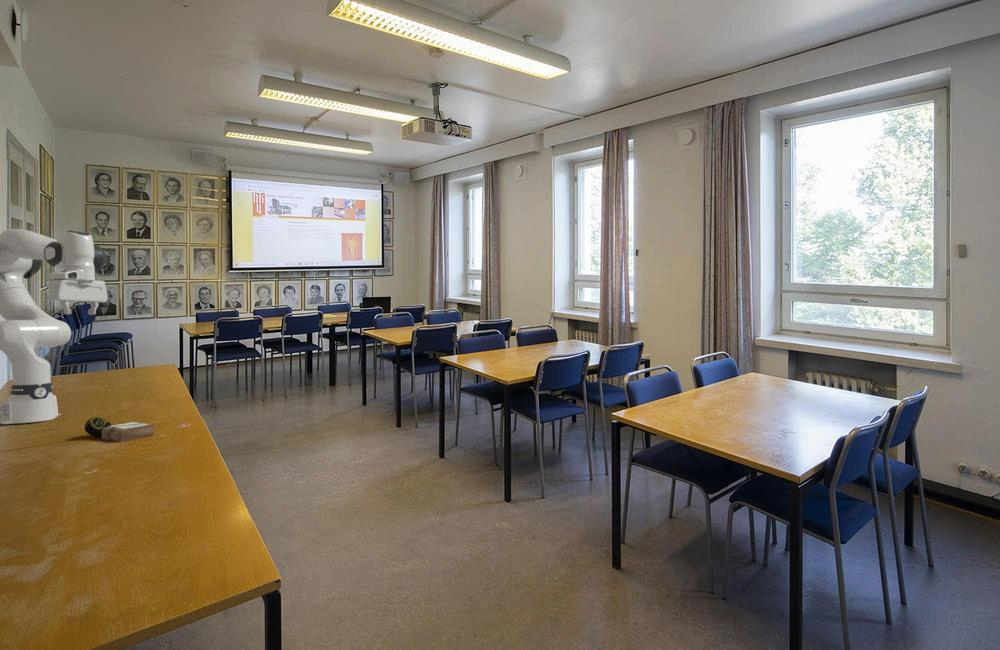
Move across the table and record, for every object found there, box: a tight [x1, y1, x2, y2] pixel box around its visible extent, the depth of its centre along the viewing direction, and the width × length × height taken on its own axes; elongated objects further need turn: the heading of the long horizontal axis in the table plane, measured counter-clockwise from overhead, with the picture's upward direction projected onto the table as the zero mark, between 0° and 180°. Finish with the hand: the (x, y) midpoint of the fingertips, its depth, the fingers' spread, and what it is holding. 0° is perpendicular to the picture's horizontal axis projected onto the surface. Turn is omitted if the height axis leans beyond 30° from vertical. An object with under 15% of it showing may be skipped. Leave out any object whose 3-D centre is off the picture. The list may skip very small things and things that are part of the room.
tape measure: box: [84, 416, 112, 439], centre depth 187 cm, size 7×7×4 cm
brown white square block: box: [101, 421, 155, 443], centre depth 187 cm, size 11×11×4 cm
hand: (80, 314), depth 191 cm, fingers open, 8 cm apart
